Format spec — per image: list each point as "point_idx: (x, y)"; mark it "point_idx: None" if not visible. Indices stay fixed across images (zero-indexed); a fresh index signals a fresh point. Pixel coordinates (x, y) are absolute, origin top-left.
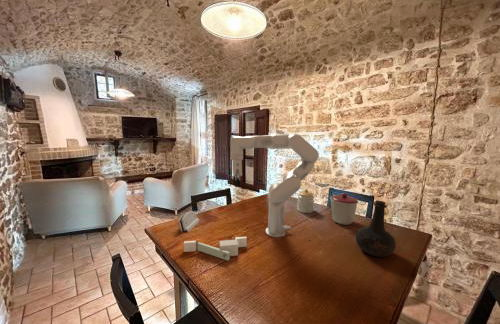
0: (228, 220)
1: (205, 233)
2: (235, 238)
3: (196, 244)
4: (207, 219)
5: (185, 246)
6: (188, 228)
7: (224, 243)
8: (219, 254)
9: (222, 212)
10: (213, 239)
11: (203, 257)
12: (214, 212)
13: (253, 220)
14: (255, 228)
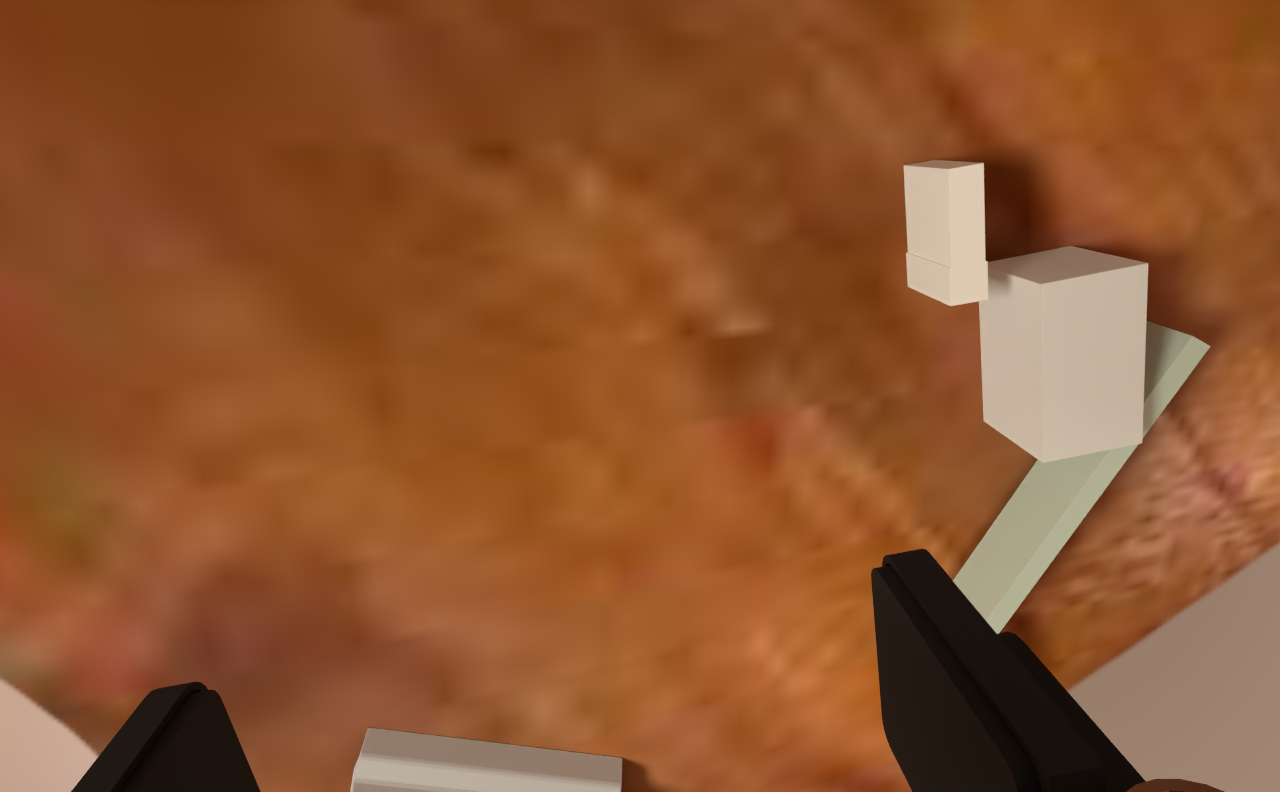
0: (297, 420)
1: (650, 608)
2: (977, 299)
3: None
4: (309, 662)
5: None
6: (602, 783)
7: (1100, 408)
8: None
9: (41, 531)
10: (771, 512)
11: None
12: (71, 629)
13: (235, 52)
14: (502, 31)
